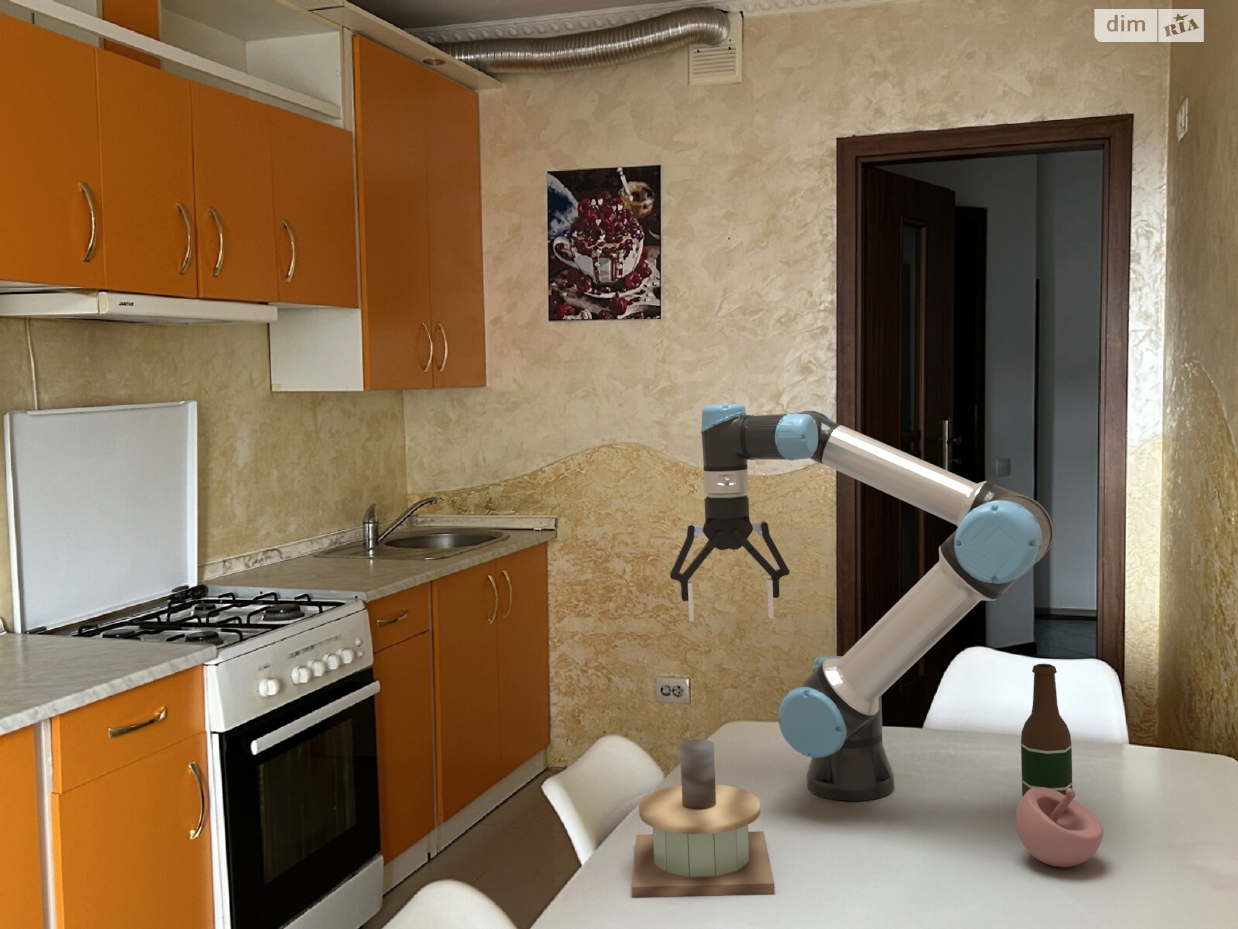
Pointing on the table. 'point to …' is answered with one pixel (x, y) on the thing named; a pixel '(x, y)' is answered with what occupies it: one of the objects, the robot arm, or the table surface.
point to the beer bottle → (1046, 738)
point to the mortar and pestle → (1057, 827)
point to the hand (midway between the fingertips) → (731, 618)
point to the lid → (699, 798)
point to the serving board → (740, 882)
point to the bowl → (701, 852)
